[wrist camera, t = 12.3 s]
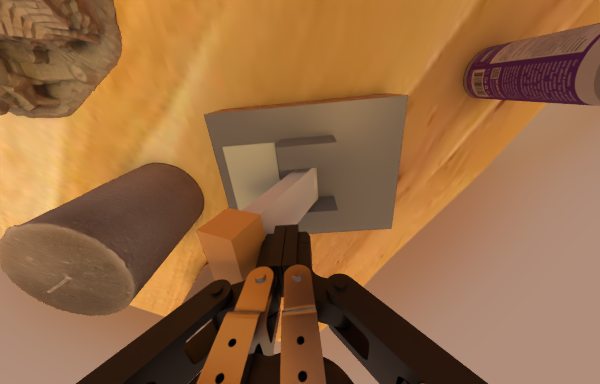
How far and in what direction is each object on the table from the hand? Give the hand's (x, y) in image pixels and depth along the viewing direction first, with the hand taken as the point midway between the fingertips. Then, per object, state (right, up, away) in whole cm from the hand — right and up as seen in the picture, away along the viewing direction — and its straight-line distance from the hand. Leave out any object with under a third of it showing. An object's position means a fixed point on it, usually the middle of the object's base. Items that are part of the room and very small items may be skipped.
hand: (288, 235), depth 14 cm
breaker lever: (+2, +4, +7) cm, 8 cm away
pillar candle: (-17, +2, +15) cm, 23 cm away
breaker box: (+2, +6, +12) cm, 14 cm away
